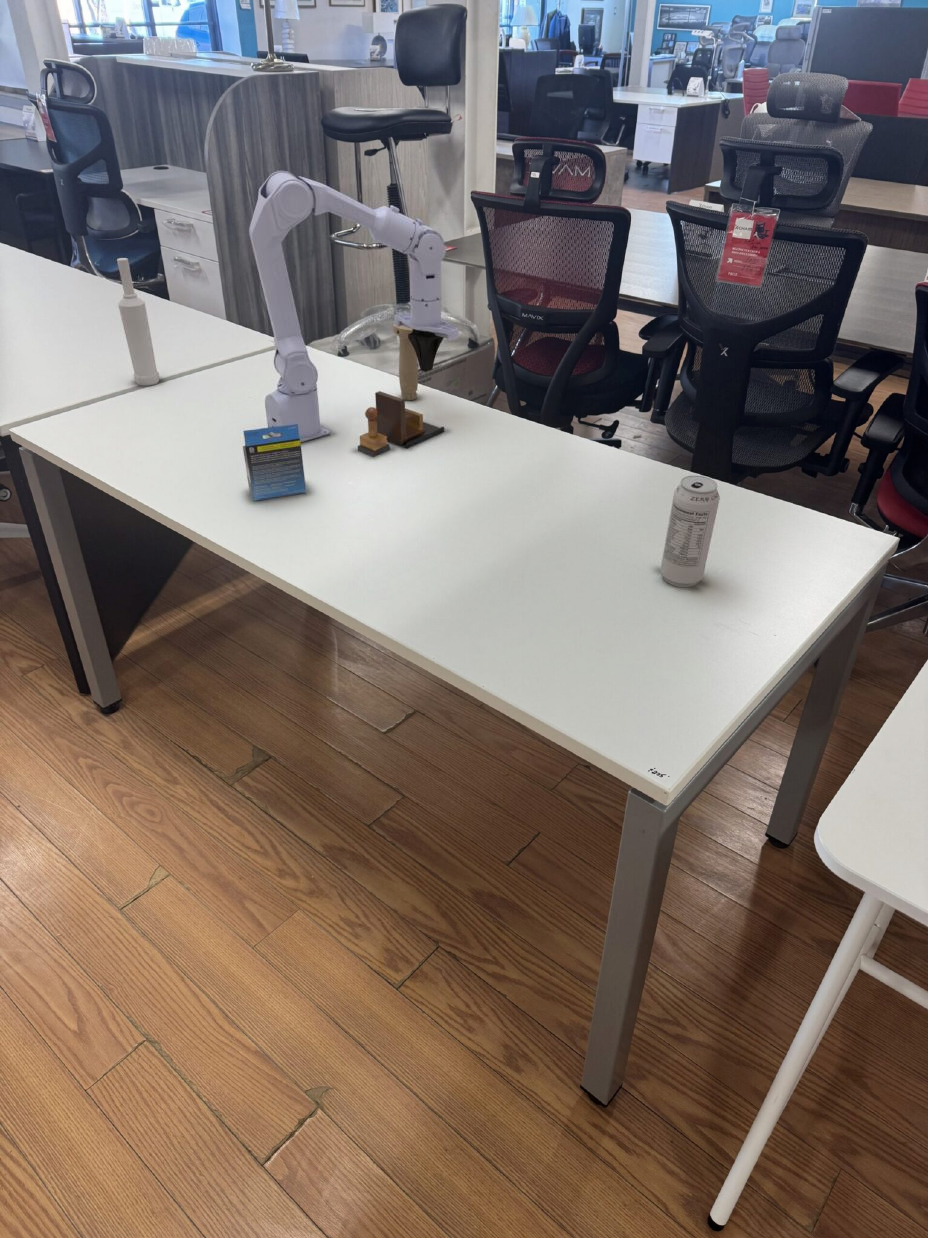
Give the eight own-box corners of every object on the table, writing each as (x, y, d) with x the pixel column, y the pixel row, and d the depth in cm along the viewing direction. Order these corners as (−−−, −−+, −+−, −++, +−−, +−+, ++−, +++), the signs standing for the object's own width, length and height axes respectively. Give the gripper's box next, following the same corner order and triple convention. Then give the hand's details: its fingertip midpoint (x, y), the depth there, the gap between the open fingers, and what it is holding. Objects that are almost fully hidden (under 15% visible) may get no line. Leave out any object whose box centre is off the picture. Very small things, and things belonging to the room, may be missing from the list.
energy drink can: (709, 577, 122) (730, 483, 113) (688, 594, 118) (708, 498, 109) (673, 562, 125) (690, 469, 116) (651, 578, 121) (667, 483, 113)
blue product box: (301, 483, 144) (294, 414, 137) (306, 493, 141) (299, 423, 134) (249, 491, 141) (238, 421, 134) (253, 501, 138) (242, 430, 131)
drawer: (401, 424, 163) (400, 383, 159) (426, 433, 160) (425, 391, 155) (377, 434, 159) (375, 392, 155) (401, 444, 156) (400, 401, 151)
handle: (410, 405, 174) (408, 331, 165) (390, 396, 177) (387, 324, 169) (428, 399, 176) (427, 326, 168) (407, 391, 180) (405, 319, 171)
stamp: (385, 414, 157) (362, 402, 151) (401, 420, 155) (378, 408, 149) (369, 455, 158) (345, 445, 152) (384, 462, 156) (361, 451, 150)
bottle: (156, 386, 180) (130, 262, 166) (131, 385, 180) (104, 261, 166) (163, 377, 185) (139, 256, 170) (139, 377, 185) (114, 255, 170)
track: (414, 420, 167) (413, 415, 167) (444, 431, 163) (444, 426, 162) (376, 436, 161) (376, 431, 160) (407, 448, 156) (407, 443, 156)
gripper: (469, 300, 154) (468, 373, 162) (411, 285, 162) (413, 356, 170) (444, 308, 150) (444, 382, 158) (385, 293, 158) (388, 365, 166)
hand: (426, 369), depth 164 cm, fingers closed
